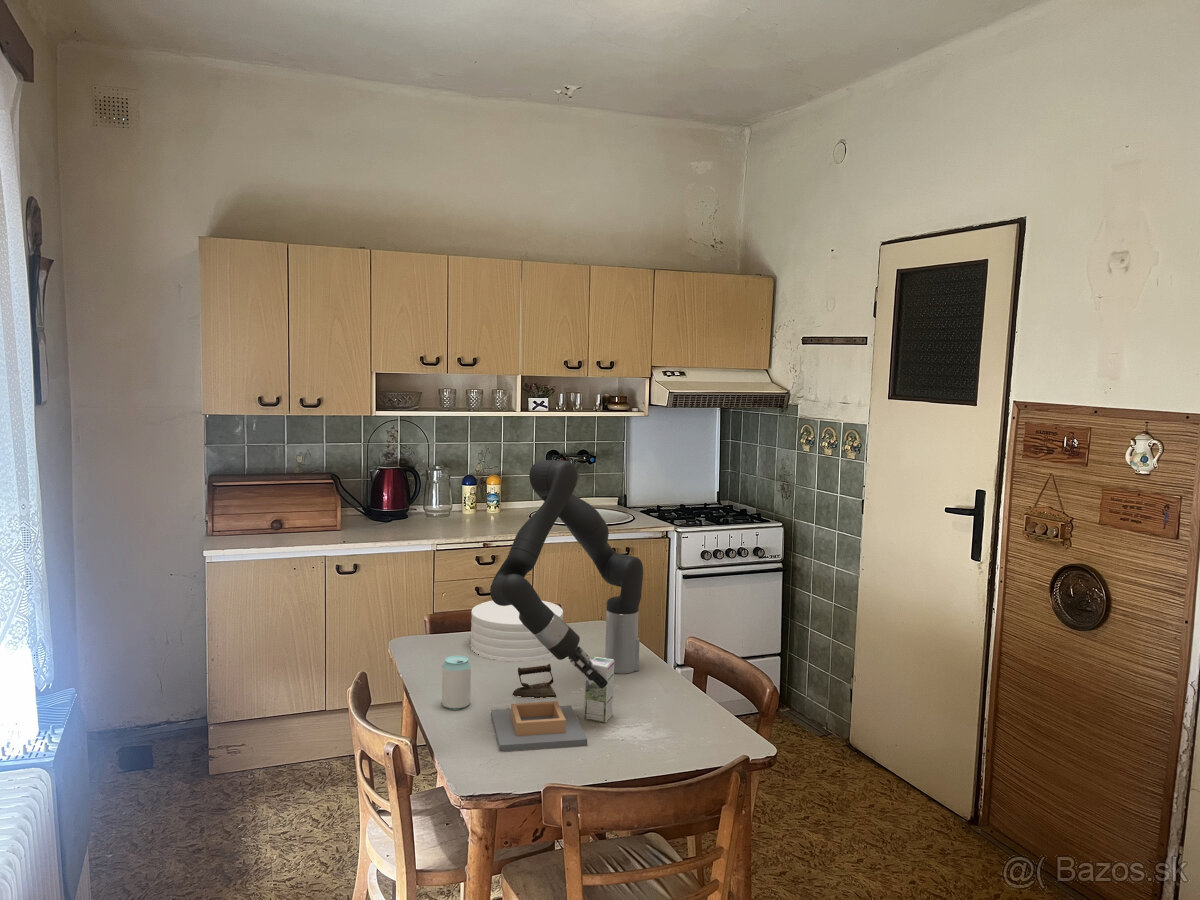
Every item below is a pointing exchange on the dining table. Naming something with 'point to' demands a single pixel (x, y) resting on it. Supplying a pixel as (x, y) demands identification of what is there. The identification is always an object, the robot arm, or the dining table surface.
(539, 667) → the clothes iron
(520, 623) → the plate stack
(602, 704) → the syrup box
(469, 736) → the dining table surface
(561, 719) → the collar stand
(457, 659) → the can
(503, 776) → the dining table surface
